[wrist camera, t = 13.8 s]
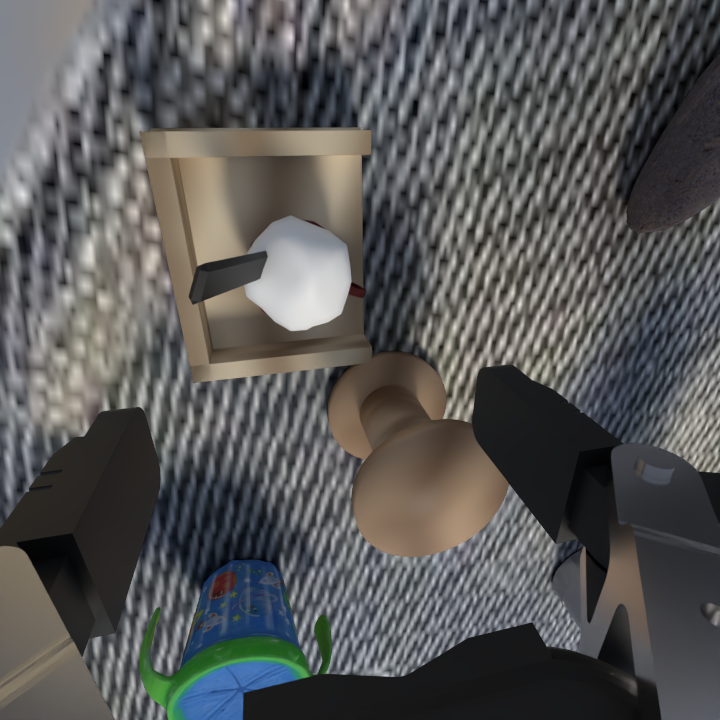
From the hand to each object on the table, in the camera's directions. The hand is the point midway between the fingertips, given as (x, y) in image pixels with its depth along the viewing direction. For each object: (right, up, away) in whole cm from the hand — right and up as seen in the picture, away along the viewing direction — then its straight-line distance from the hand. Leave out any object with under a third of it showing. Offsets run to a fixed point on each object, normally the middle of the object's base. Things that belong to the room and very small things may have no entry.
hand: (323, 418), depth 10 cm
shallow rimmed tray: (-5, +9, +18) cm, 21 cm away
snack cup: (-10, -20, +31) cm, 38 cm away
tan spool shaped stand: (+3, -2, +25) cm, 25 cm away
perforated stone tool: (+24, +18, +21) cm, 37 cm away
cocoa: (-4, +8, +18) cm, 20 cm away
